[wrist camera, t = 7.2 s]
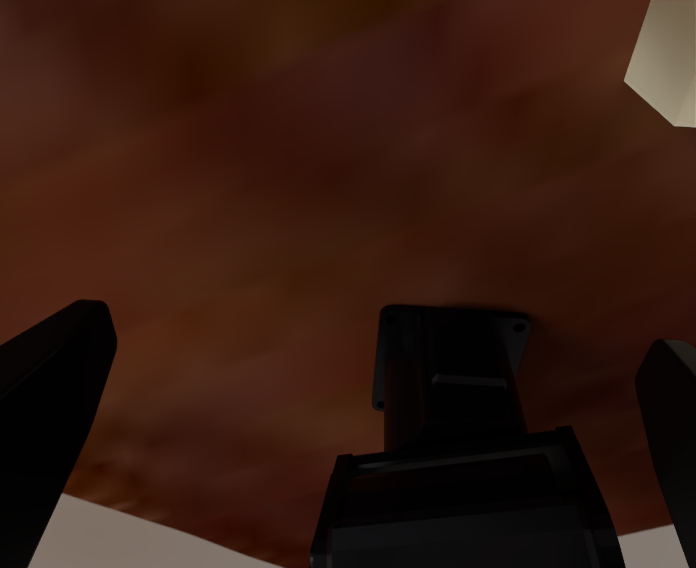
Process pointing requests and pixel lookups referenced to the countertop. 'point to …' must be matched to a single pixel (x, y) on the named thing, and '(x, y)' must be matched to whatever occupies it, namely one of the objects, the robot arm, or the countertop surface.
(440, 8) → the countertop surface
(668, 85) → the birch block
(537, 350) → the countertop surface
